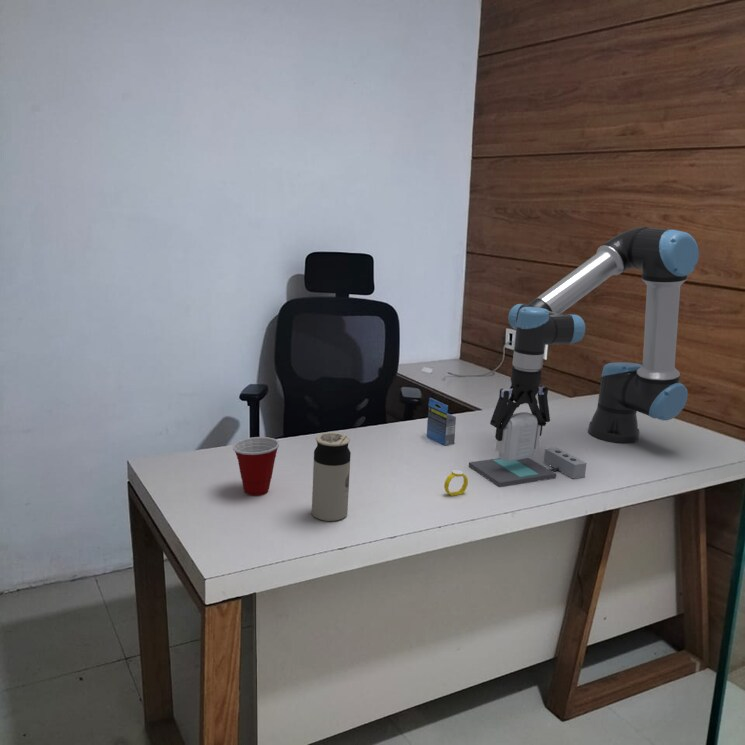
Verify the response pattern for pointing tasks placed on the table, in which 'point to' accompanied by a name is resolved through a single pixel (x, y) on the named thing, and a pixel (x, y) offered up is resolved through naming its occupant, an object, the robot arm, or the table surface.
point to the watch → (453, 474)
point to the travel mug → (331, 476)
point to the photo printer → (520, 437)
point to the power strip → (565, 462)
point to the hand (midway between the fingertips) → (517, 449)
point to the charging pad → (511, 471)
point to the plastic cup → (256, 463)
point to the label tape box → (440, 423)
